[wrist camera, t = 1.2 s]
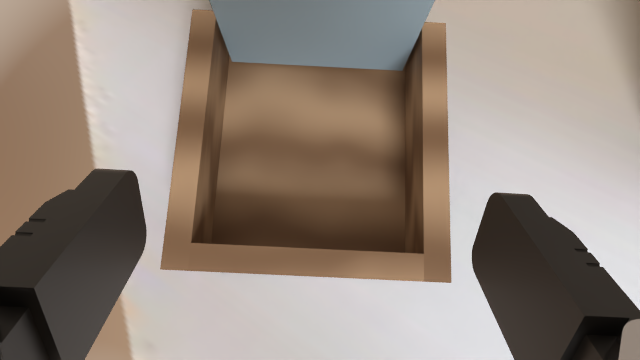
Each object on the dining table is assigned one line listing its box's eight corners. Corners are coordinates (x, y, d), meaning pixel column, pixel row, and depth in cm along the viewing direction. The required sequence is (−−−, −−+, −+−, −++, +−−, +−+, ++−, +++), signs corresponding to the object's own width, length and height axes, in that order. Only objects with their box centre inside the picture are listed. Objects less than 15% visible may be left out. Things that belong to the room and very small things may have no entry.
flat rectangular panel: (402, 70, 32) (442, -16, 23) (232, 61, 32) (198, -29, 23) (402, 44, 33) (441, -52, 23) (234, 34, 33) (203, -66, 23)
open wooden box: (420, 280, 31) (451, 282, 25) (193, 269, 31) (160, 269, 24) (419, 71, 35) (445, 23, 28) (215, 60, 35) (192, 9, 28)
